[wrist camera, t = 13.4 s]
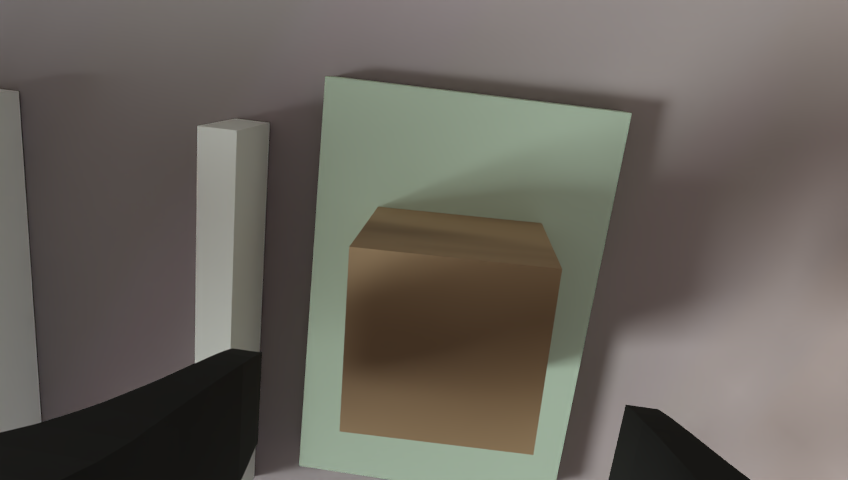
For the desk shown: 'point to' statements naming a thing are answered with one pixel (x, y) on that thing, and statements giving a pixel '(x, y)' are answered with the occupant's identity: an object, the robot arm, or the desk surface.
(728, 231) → the desk surface
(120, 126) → the desk surface
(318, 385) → the mat
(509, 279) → the walnut block
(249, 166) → the parallel rails
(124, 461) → the robot arm
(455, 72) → the desk surface
